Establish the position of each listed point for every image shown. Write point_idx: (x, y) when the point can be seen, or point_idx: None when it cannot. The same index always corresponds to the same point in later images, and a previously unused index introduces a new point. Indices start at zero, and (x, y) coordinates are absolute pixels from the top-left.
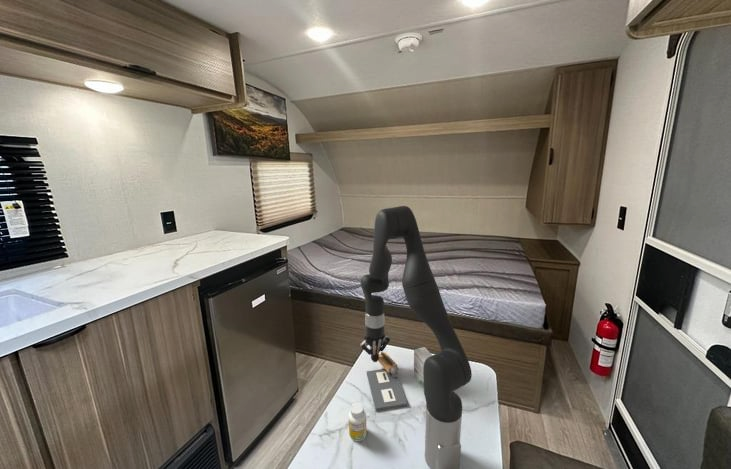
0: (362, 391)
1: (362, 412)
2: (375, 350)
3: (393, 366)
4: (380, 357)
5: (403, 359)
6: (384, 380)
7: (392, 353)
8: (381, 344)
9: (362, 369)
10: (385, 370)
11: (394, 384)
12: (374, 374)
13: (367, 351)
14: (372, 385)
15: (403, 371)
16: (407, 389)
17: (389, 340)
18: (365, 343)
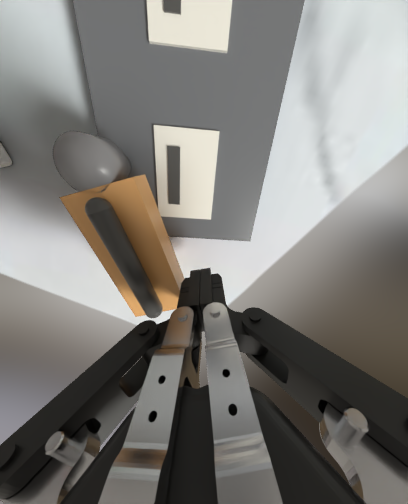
0: (314, 121)
1: None
2: (197, 335)
3: (90, 187)
4: (169, 287)
5: (71, 274)
6: (182, 144)
7: (116, 309)
8: (137, 378)
9: (252, 262)
10: None
11: (125, 87)
12: (221, 211)
13: (293, 340)
14: (261, 126)
15: None
16: (47, 40)
17: (9, 440)
18: (379, 488)
